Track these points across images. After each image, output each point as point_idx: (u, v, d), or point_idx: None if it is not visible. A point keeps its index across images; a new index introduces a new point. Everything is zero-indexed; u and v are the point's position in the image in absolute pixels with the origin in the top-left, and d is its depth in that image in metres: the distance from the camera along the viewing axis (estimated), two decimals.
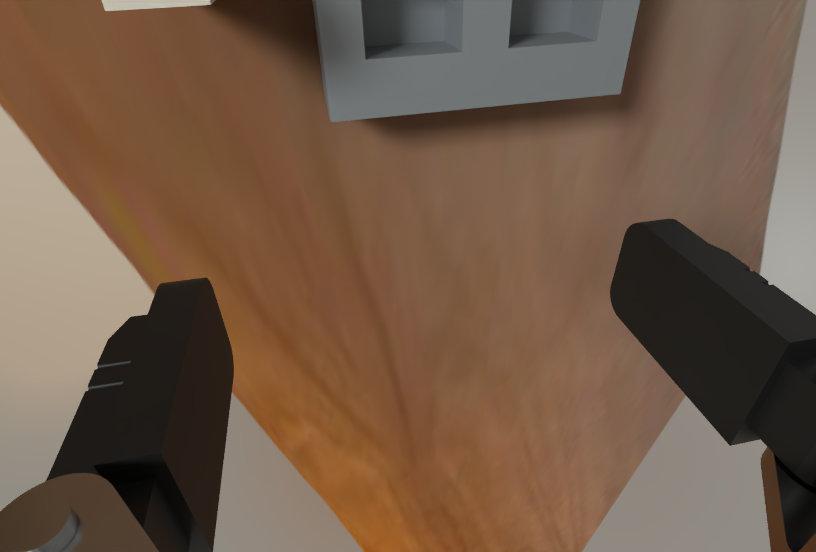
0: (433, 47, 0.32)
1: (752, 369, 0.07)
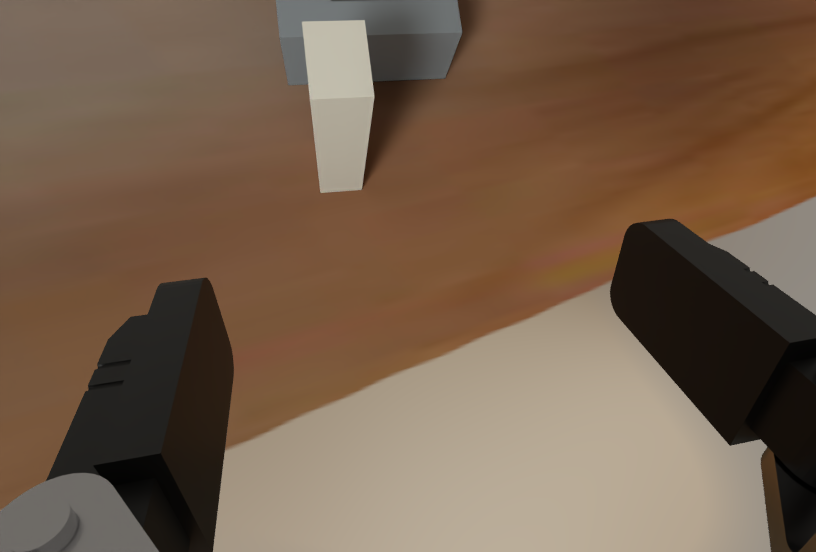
0: None
1: (752, 369, 0.07)
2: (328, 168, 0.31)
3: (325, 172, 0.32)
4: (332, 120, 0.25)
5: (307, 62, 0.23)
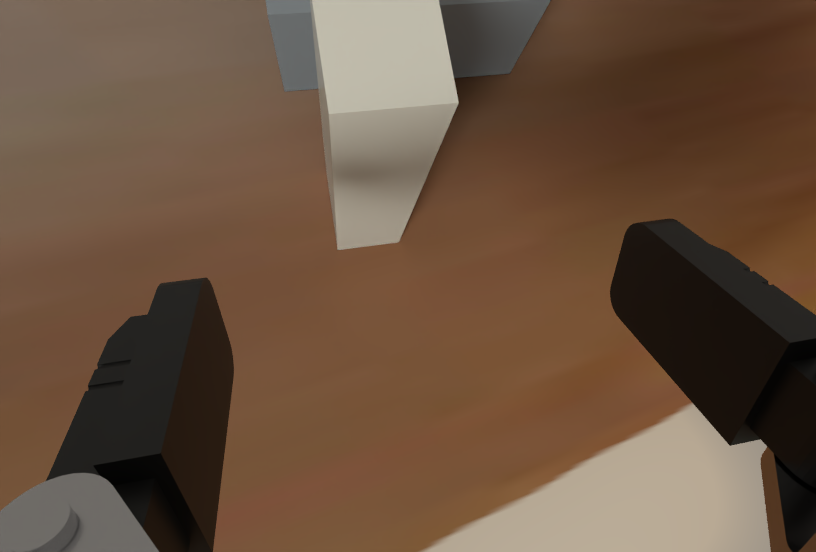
0: None
1: (752, 369, 0.07)
2: (352, 221, 0.19)
3: (348, 225, 0.20)
4: (369, 151, 0.13)
5: (320, 38, 0.11)
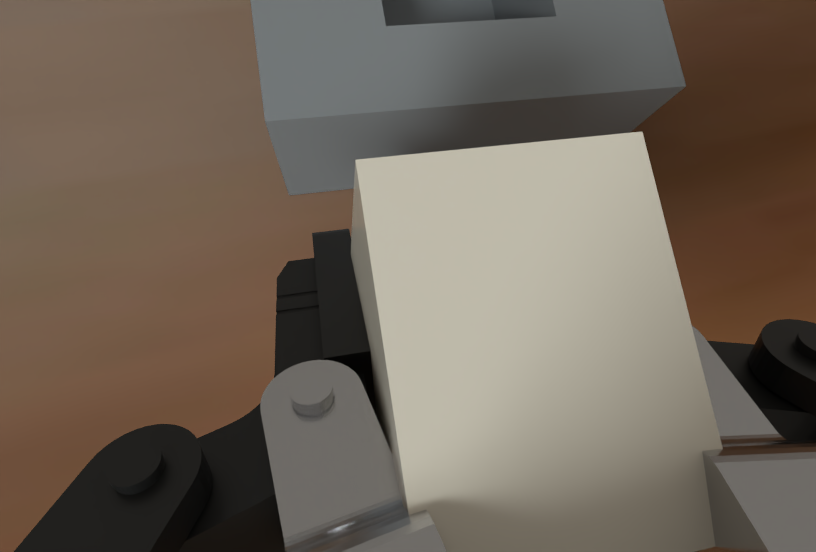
0: None
1: None
2: None
3: None
4: None
5: (395, 383, 0.04)
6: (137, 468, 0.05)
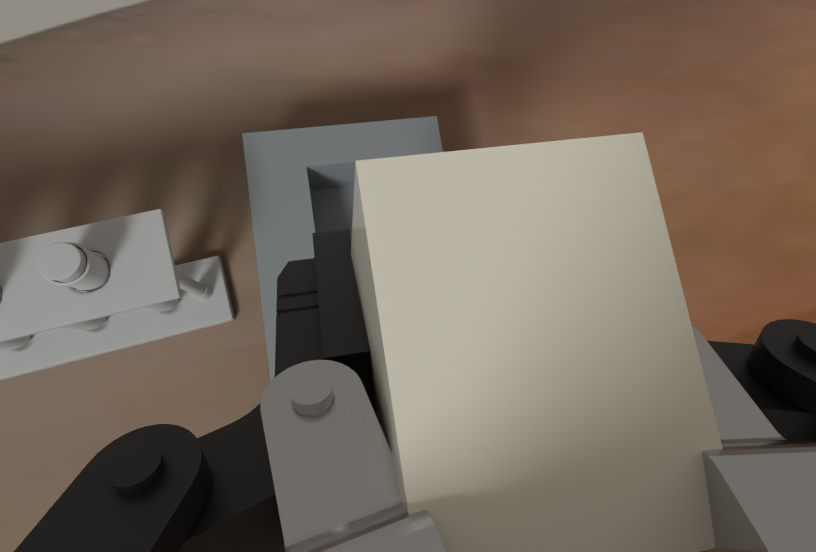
0: None
1: None
2: None
3: None
4: None
5: (395, 384, 0.04)
6: (136, 467, 0.05)
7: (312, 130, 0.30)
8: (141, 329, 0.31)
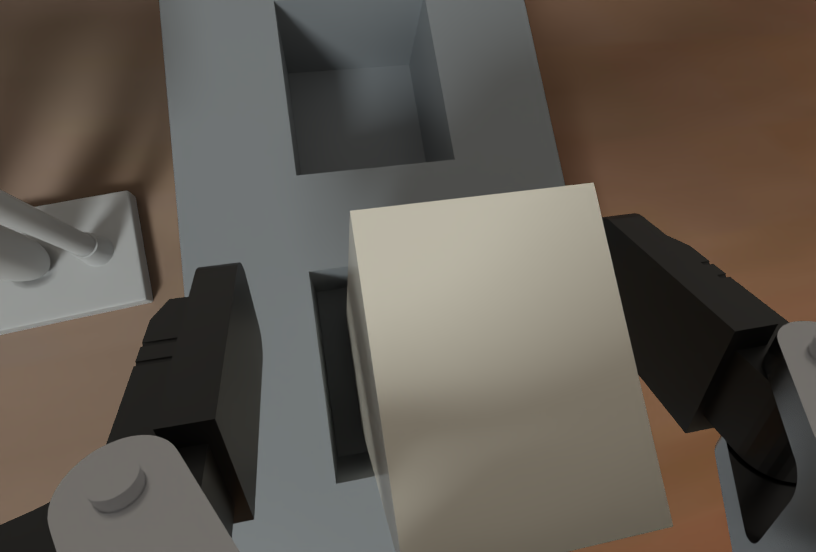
0: None
1: (703, 358, 0.07)
2: None
3: None
4: None
5: (383, 397, 0.05)
6: None
7: None
8: None
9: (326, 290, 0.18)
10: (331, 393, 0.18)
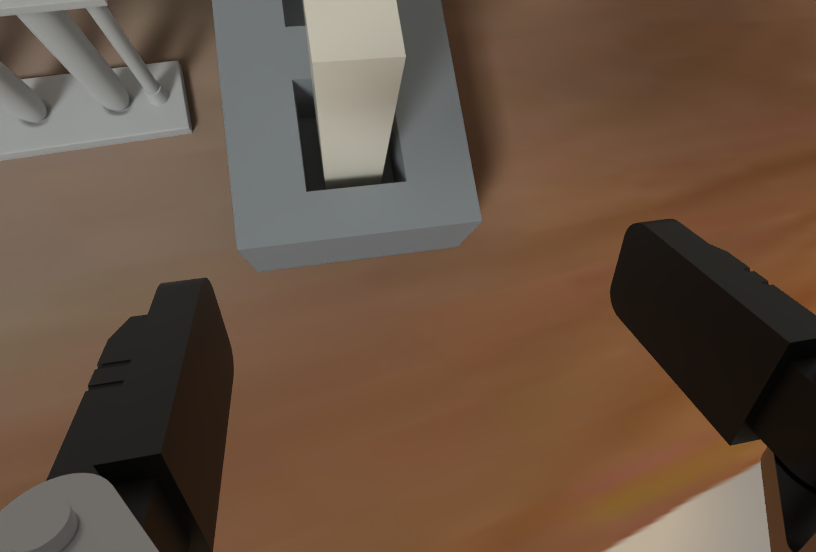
0: None
1: (752, 369, 0.07)
2: (337, 168, 0.24)
3: (334, 172, 0.24)
4: (344, 97, 0.18)
5: (306, 9, 0.16)
6: None
7: None
8: (85, 128, 0.28)
9: (305, 117, 0.29)
10: (307, 179, 0.28)
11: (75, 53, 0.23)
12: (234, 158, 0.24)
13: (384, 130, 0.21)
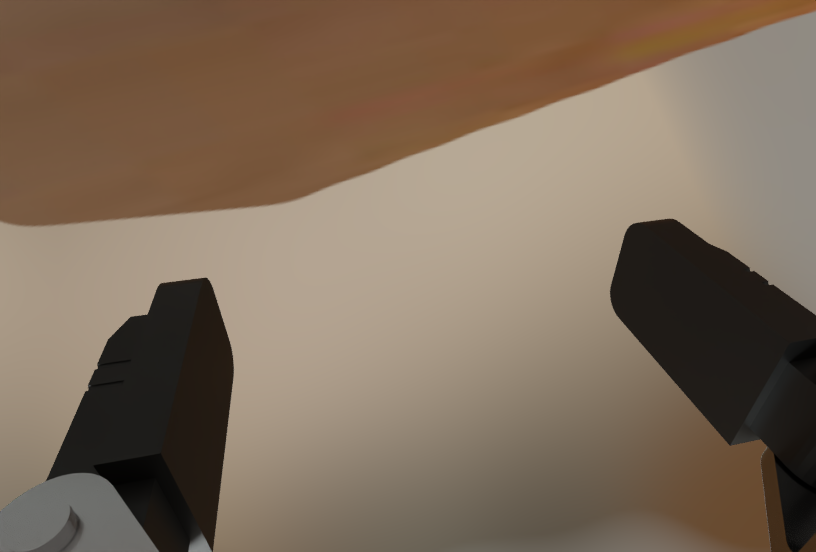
0: None
1: (752, 369, 0.07)
2: None
3: None
4: None
5: None
6: None
7: None
8: None
9: None
10: None
11: None
12: None
13: None
